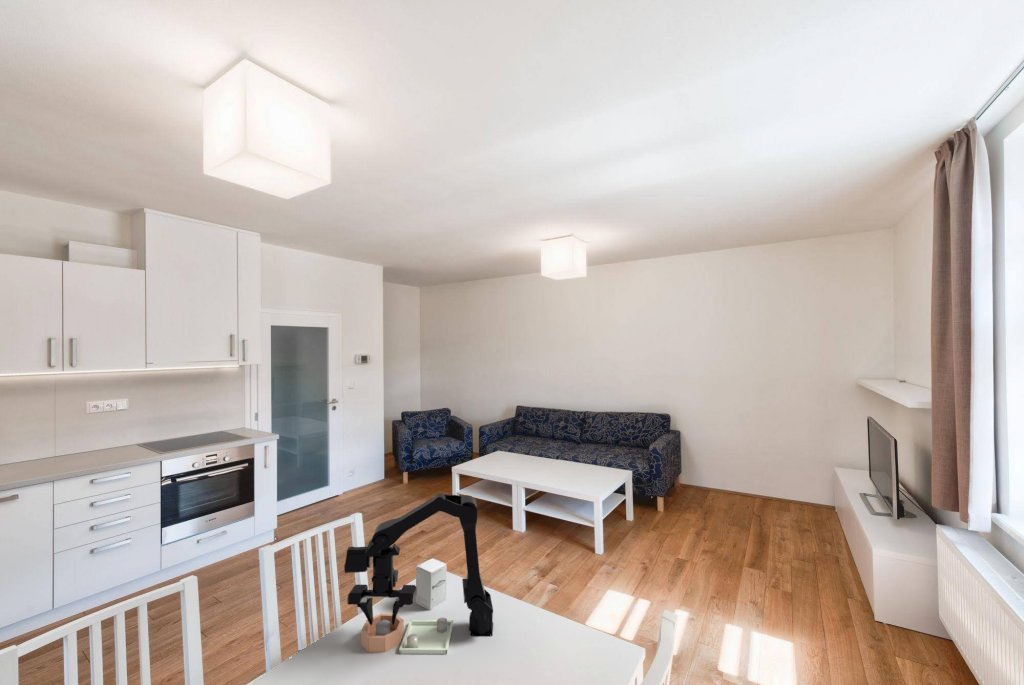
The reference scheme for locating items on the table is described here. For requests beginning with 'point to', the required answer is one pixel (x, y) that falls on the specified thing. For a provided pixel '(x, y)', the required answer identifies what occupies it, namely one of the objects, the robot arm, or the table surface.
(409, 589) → the robot arm
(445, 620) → the pebble
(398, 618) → the bowl
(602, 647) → the table surface
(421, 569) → the supplement box
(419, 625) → the tray
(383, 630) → the grey rounded cylinder
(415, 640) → the pebble
